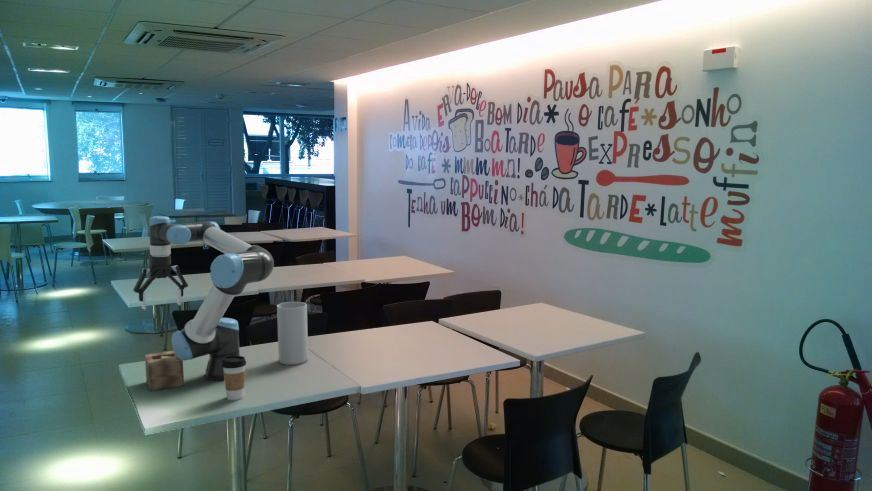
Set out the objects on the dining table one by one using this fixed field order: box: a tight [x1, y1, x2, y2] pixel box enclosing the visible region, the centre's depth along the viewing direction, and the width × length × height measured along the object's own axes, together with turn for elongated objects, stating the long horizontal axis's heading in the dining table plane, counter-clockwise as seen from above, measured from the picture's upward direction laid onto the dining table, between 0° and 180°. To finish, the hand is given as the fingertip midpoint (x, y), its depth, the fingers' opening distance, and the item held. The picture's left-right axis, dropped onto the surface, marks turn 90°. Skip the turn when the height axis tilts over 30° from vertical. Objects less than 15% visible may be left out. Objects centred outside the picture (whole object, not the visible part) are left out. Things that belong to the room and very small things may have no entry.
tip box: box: [144, 350, 185, 392], centre depth 235 cm, size 12×12×11 cm
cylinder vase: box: [276, 301, 309, 366], centre depth 262 cm, size 12×12×25 cm
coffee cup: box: [222, 355, 247, 401], centre depth 220 cm, size 8×8×15 cm
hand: (161, 306), depth 244 cm, fingers open, 13 cm apart
